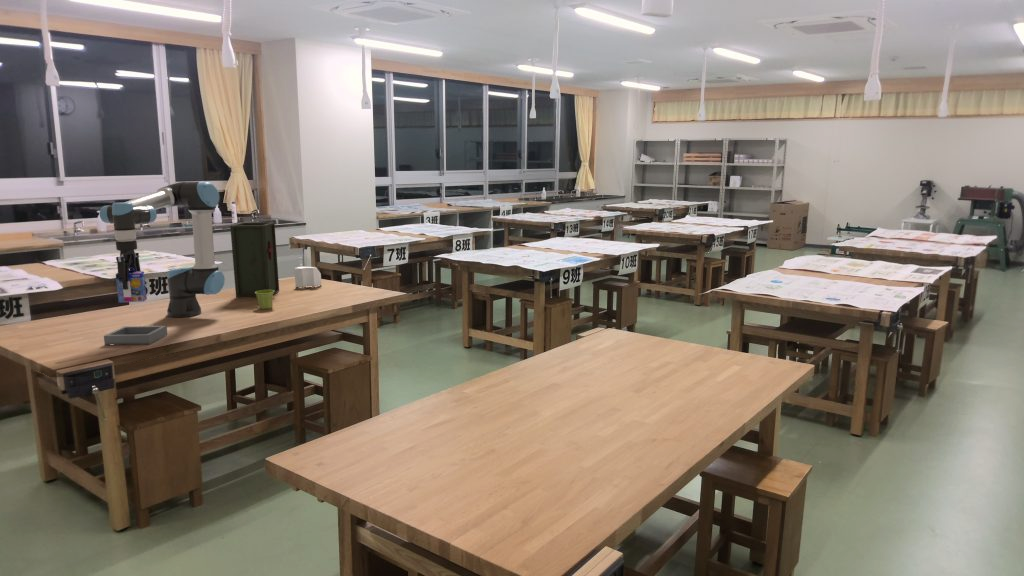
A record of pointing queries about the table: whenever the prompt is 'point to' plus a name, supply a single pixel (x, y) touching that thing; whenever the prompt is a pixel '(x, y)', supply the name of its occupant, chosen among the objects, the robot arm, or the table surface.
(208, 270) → the robot arm
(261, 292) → the plant pot
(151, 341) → the tray
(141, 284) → the ink cartridge box
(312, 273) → the white rounded block
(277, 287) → the first aid box
